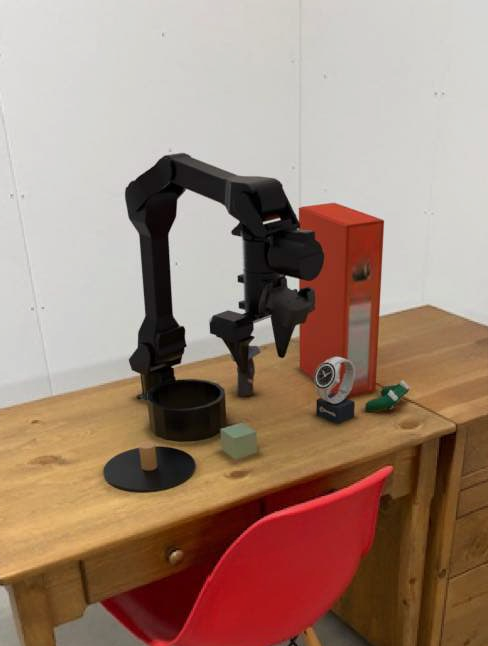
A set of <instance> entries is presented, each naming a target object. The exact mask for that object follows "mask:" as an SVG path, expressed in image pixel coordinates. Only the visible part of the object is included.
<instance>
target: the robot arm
mask: <svg viewBox="0 0 488 646" xmlns="http://www.w3.org/2000/svg"><path fill="white" fill-rule="evenodd" d="M283 187H284V185H283V183H282V182H281V181H280V180H279V179H277V178H275V177H267V176H260V175H259V176H258V175H238V174H235V173H233V172H230V171H228V170H226V169H222V168H220V167H217V166H215V165H212V164H209V163H208V162H204V161H202V160H200V159H196V158H194V157H192V156H191V155H190V154H188V153H186V152H178V153H172V154H171V153H170V154H165V155H163V156H162V157H161V158H159V159H158V160H157V161H156V163H155V164H154V165H153V166H151V167H150V168H149V169H147V170H145V171H144V172H142V173H141V174H140V175H138V176H137V177H136V179H134V180H131V181H130V182H129V183H128V185H127V186H126V187H125V190H124V200H125V205H126V211H127V217H128V220H129V221H130V223H131V224H132V226H133V228H134V229H135V230H136V232H137V234H138V237H139V249H140V252H139V253H140V263H141V276H142V277H141V278H142V290H143V303H144V317H143V320H142V323H141V325H140V327H139V329H138V331H137V348H135V350H134V351H133V353H132V354H131V356H130V357H129V358H128V364H129V366H130V369H131V371H133V372H134V373H137V374H139V375H140V383H141V393H138V394H137V395H136V399H138V400H144V401H147V395H148V392H149V391H150V390H151V389H153V388H154V387H156V386H158V385H160V384H163V383H165V382H170V381H175V380H177V379H176V376H175V368H174V366H177V365H181V363H182V359H183V355H184V353H185V348H187V347H188V346H187V341H186V328H185V326H184V325H180V324H179V322H178V321H177V319H176V318H175V316H174V312H173V311H174V310H173V293H172V275H171V272H172V271H171V261H170V260H171V256H170V255H171V254H170V237H169V235H170V231H171V229H172V227H173V225H174V223H175V220H176V219H177V211H178V200H179V199H180V198H181V197H182V195H183V194H184V193H185V192H186V190H188V191H190V192H193V193H195V194H197V195H200V196H202V197H204V198H207V199H209V200H212V201H214V202H217V203H219V204H221V206H223V207H225V209H226V212H227V213H228V215H230V216H231V217H232V218H234V219H235V220H237V221H238V224H237V225H236V226H234V227H233V229H231V231H230V233H231V235H232V236H236V237H240V238H241V254H242V273H241V274H238V275H237V277H236V278H237V283H240V284H242V285H243V300H239V301H238V309H240V310H243V311H244V312H243V313H239V312H236V311H233V310H229V309H227V310H225V311H222V312H219V313H216V314H214V315H212V316H211V318H209V321H208V323H209V334H210V335H214V336H215V337H216V338H219V339H221V340H222V341H223V343H224V345H225V346H226V348H227V349H228V351H229V353H230V355H232V356H233V358H234V360H235V361H234V362H235V363H236V367H237V366H238V367H239V369H240V371H241V373H243V374H247V373H248V363H249V345H250V344H251V343H252V342H253V340H254V339H255V336H254V335H252V334H253V332H254V329H255V325H254V324H255V323H259V322H261V321H263V320H266V319H269V318H270V323H271V328H272V334H273V338H274V344H275V349H276V353H277V356H278V358H280V359H284V358H285V357H286V354H287V351H288V349H289V345H290V343H291V340H292V336H293V333H294V331H295V329H296V326H298V325H299V324H301V323H302V324H303V323H305V322H306V320H307V316H308V313H310V312H312V311H314V310H315V306H314V305H315V290H314V289H312V288H311V287H310V286H307V287H304V288H301V289H300V290H299V289H298V288H293V289H291V288H290V287H288V278H289V277H290V278H294V279H297V280H299V279H301V280H305V281H312V280H314V279H315V278H316V277H317V276H318V275H319V273H320V272H321V270H322V267H323V263H324V252H323V249H322V246H321V244H320V243H319V242H318V241H316V240H315V232H314V231H311V230H299V228H300V223H299V218H298V217H297V215H296V213H295V211H294V209H293V206H292V204H291V203H290V200H289V197H288V196H287V194H286V192H285V190H284V188H283ZM278 219H279V220H278ZM274 220H275V221H274ZM286 277H288V278H286Z"/></svg>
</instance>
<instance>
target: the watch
mask: <svg viewBox="0 0 488 646" xmlns="http://www.w3.org/2000/svg"><path fill="white" fill-rule="evenodd" d="M342 362H344V363H345V366H346V372H345V374H344V376H343V379H342V382H341V385H340V387H339V389H338V390H339V392H338V394H335V393H333V392H331V390H332V389H333V388H334V387H335V386H336V384H337V383H339V382H340V379H339V371H340V367H341V364H340V363H342ZM354 380H355V368H354V365H353V363H352V362H351V361H349V360H347V359H344V358H341V357H333V358H330V359H329V360H327V361H325V362H324V363H322V364H321V365H320V366H319V367H318V368H317V370H316V372H315V375H314V379H313V381H314V382H313V383H314V385H315V390H316V392H317V395H318V396H319V398H317V399H316V408H315V409H316V410H315V411H316V412H315V413H316V414H315V415H316V416H318V417H320V418H322V419H324V420H326V421H329V422H330V423H333V424H335V425H340V424H342V423H344V422H348V421H350V420H352V419H354V418H355V409H356V408H355V407H356V406H355V405H356V401H354V400H352V399H350V398H345V397H346V396H347V395H349V393H350V391H351V389H352V386H353V383H354Z"/></svg>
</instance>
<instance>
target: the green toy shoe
mask: <svg viewBox="0 0 488 646" xmlns="http://www.w3.org/2000/svg"><path fill="white" fill-rule="evenodd" d="M409 391H410V387H409V385H408V384H407V383H406V381H404V380H403V379H401V380H400V382H398V383H397V384H392V385H387V386H384V387H382V389H381V390H380V395H381V396H379V397H376V398H372V399H370V400H368V401H367V402H365V404H364V409H365V411H368V412H378V411H384V410H389V411H391V410H392V409H394V408H395V407H394V406H395V405H398V404H399V403H400V402H401V401H400V400H401V399H402V398H404V396H405V395H406V394H408V393H409Z"/></svg>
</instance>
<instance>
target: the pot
mask: <svg viewBox="0 0 488 646" xmlns="http://www.w3.org/2000/svg"><path fill="white" fill-rule="evenodd" d="M146 401H147V411H148V419H149V421H148V422H149V428H150V431H151V432H152V433H153V434H154V436H156V437H158V438H160V439H163V440H165V441H169V442H170V441H171V442H176V443H177V442H178V443H188V442H189V443H190V442H199V441H203V440H208V439H211V438H213V437H215V436H218V435H220V434H221V431H220V429H222V428H225V427H228V423H227V404H226V401H227V400H226V390H225V388H224V387H223V386H221V385H220V384H219V383H217V382H214V381H210V380H206V379H198V378H185V379H184V378H182V379H176V380H175V381H170V382H165V383H163V384H160V385H158V386H156V387H154V388H153V389H151V390H150V391H149V392H148V395H147V400H146Z"/></svg>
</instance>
